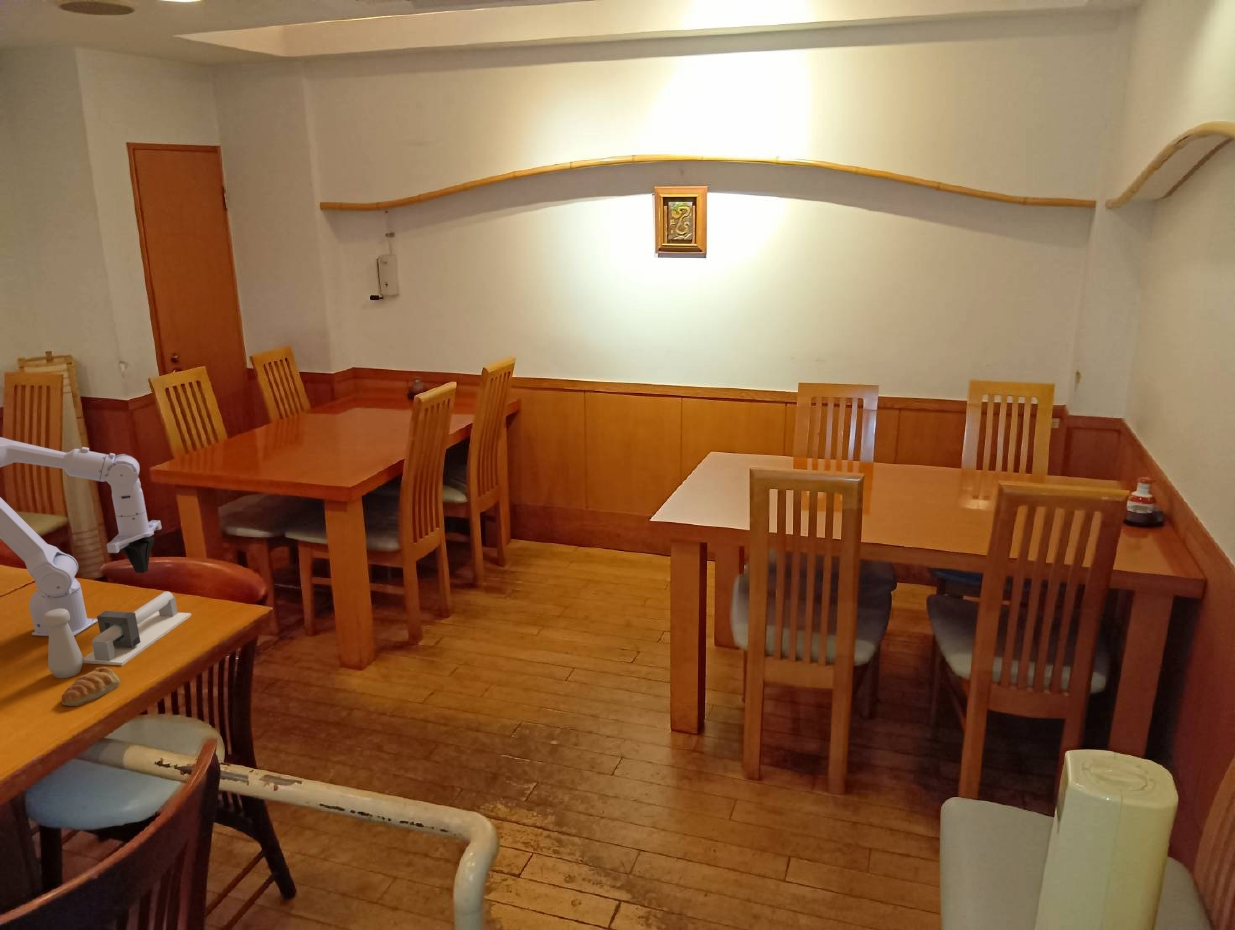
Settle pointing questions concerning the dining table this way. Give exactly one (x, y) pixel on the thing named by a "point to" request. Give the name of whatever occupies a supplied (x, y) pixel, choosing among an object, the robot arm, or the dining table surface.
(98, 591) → the dining table surface
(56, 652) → the salt shaker
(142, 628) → the pipe rail
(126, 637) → the grey square collar
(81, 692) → the pastry
